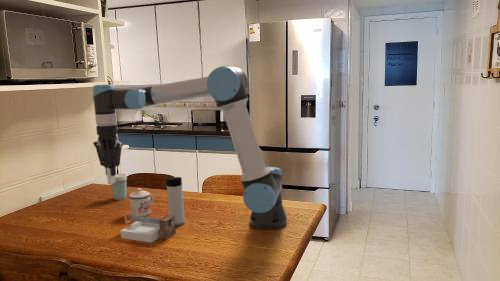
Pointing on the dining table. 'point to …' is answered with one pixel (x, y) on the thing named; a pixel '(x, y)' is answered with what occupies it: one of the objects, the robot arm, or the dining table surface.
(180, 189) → the travel mug
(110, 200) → the dining table surface
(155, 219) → the pin
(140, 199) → the teacup with lid
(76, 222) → the dining table surface
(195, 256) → the dining table surface
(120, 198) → the coffee cup
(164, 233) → the pin mount
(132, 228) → the tray
